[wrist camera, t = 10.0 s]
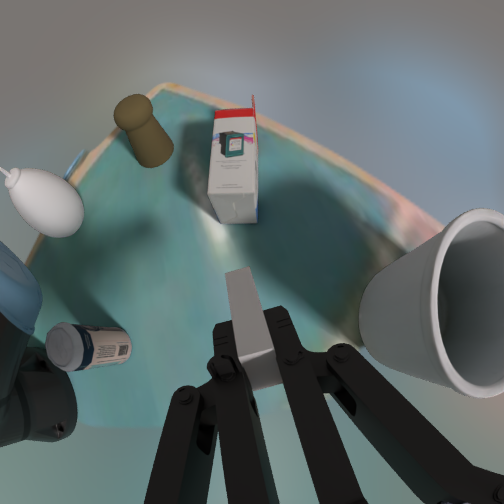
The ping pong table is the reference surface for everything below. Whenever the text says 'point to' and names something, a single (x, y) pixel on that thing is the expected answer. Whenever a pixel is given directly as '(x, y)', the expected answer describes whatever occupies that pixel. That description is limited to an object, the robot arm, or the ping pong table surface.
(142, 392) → the ping pong table surface
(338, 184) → the ping pong table surface
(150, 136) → the cork
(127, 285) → the ping pong table surface
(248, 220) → the ink box
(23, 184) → the air blower bulb
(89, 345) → the beer can
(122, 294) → the ping pong table surface
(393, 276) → the utensil holder
